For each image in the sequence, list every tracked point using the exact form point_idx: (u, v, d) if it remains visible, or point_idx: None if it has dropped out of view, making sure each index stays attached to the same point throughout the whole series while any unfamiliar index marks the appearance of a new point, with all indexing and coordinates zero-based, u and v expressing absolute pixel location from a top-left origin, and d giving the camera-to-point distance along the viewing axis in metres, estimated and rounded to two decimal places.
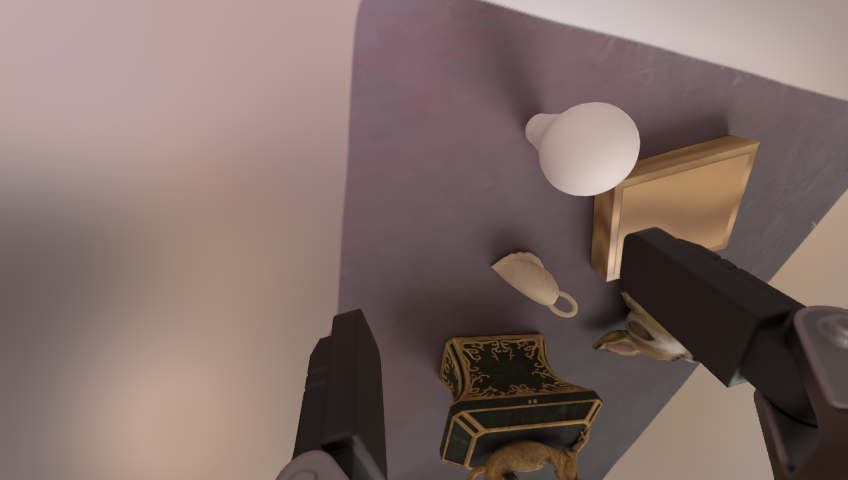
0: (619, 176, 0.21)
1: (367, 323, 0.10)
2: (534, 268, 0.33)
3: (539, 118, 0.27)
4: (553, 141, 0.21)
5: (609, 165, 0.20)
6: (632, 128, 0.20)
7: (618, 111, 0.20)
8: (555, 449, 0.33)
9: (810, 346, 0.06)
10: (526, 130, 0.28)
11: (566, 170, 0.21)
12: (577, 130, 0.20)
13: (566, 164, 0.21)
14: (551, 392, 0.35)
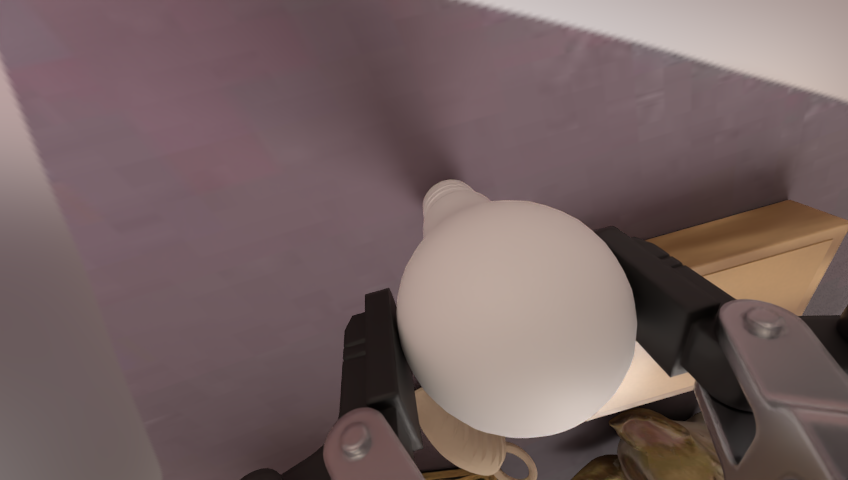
0: (577, 424, 0.07)
1: None
2: None
3: (439, 194, 0.14)
4: (405, 310, 0.08)
5: (546, 416, 0.07)
6: (614, 304, 0.07)
7: (573, 248, 0.07)
8: None
9: (737, 341, 0.06)
10: (423, 210, 0.15)
11: (435, 396, 0.08)
12: (451, 308, 0.07)
13: (432, 385, 0.07)
14: None
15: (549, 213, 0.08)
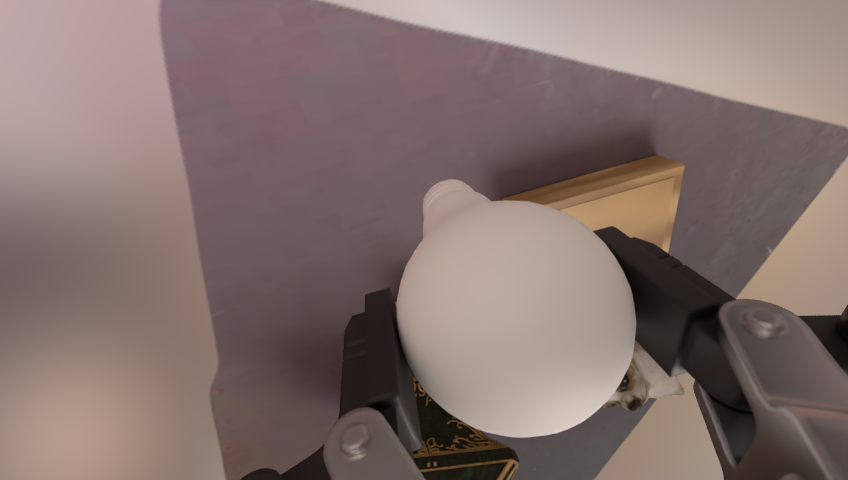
0: (577, 423, 0.07)
1: None
2: None
3: (439, 194, 0.14)
4: (405, 310, 0.08)
5: (545, 416, 0.07)
6: (613, 303, 0.07)
7: (573, 248, 0.07)
8: None
9: (737, 341, 0.06)
10: (423, 210, 0.15)
11: (435, 395, 0.08)
12: (452, 307, 0.07)
13: (432, 385, 0.07)
14: (458, 450, 0.30)
15: (548, 213, 0.08)
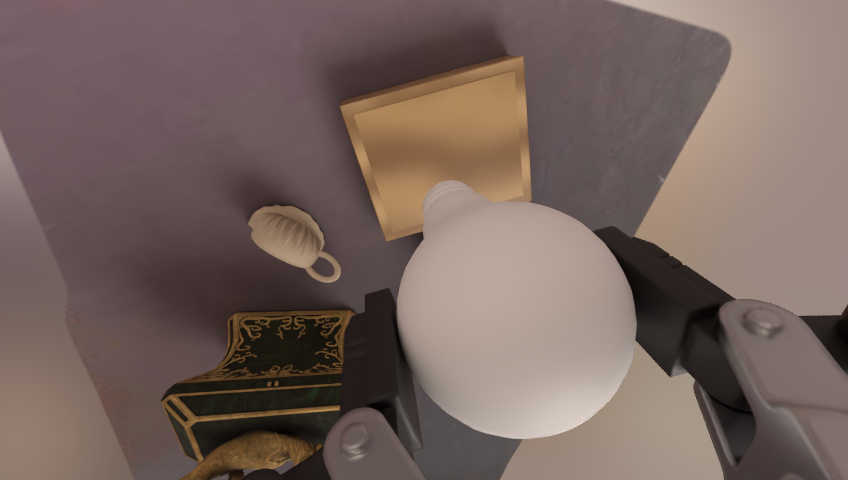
0: (577, 425, 0.07)
1: None
2: (276, 220, 0.27)
3: (439, 195, 0.14)
4: (405, 311, 0.08)
5: (545, 417, 0.07)
6: (613, 305, 0.07)
7: (573, 249, 0.07)
8: (299, 442, 0.27)
9: (736, 341, 0.06)
10: (423, 210, 0.15)
11: (435, 397, 0.08)
12: (451, 308, 0.07)
13: (432, 386, 0.07)
14: (309, 373, 0.29)
15: (549, 214, 0.08)
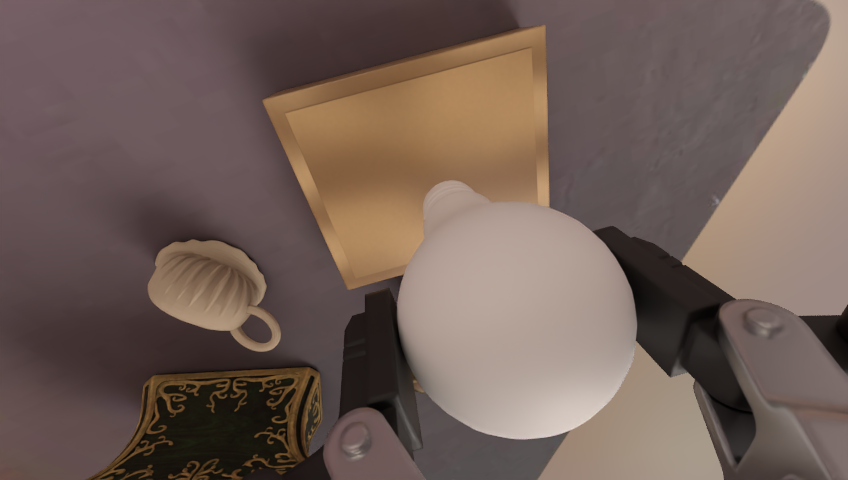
0: (578, 425, 0.07)
1: None
2: (183, 266, 0.19)
3: (439, 195, 0.14)
4: (405, 312, 0.08)
5: (546, 418, 0.07)
6: (614, 305, 0.07)
7: (573, 250, 0.07)
8: None
9: (737, 341, 0.06)
10: (423, 211, 0.15)
11: (436, 397, 0.08)
12: (452, 309, 0.07)
13: (432, 386, 0.07)
14: (236, 479, 0.20)
15: (549, 214, 0.08)
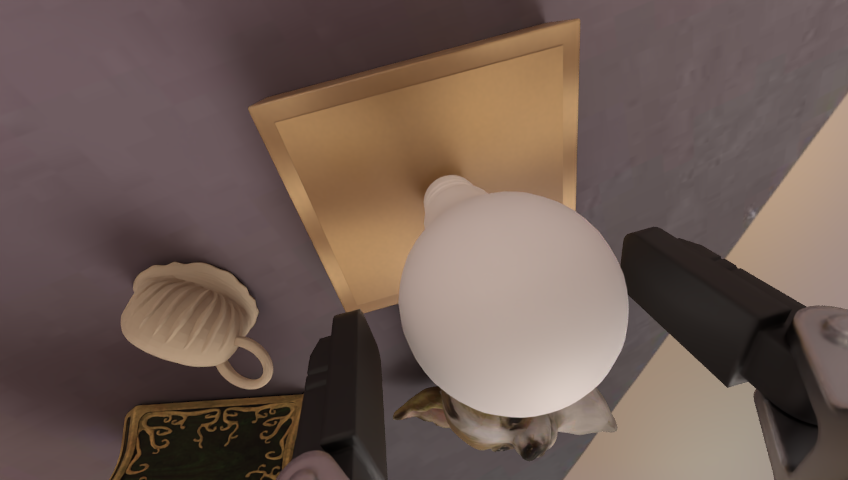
0: (571, 403, 0.08)
1: (367, 323, 0.10)
2: (161, 295, 0.17)
3: (439, 189, 0.14)
4: (407, 296, 0.08)
5: (541, 393, 0.07)
6: (605, 287, 0.07)
7: (567, 235, 0.07)
8: None
9: (810, 346, 0.06)
10: (424, 205, 0.15)
11: (436, 377, 0.08)
12: (452, 291, 0.07)
13: (433, 366, 0.08)
14: None
15: (544, 203, 0.08)
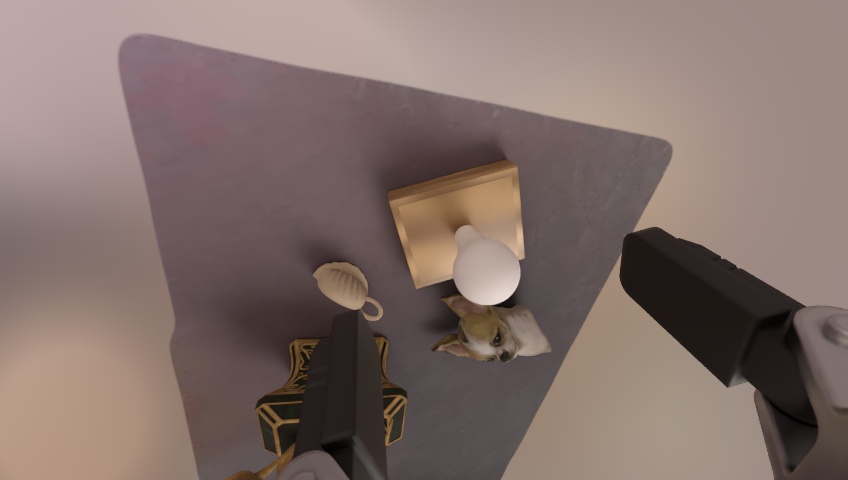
0: (502, 297, 0.28)
1: (367, 323, 0.10)
2: (337, 276, 0.38)
3: (462, 232, 0.35)
4: (457, 269, 0.29)
5: (493, 292, 0.28)
6: (509, 266, 0.28)
7: (500, 252, 0.28)
8: None
9: (810, 346, 0.06)
10: (455, 237, 0.36)
11: (466, 291, 0.29)
12: (470, 267, 0.28)
13: (465, 288, 0.29)
14: None
15: (496, 243, 0.29)
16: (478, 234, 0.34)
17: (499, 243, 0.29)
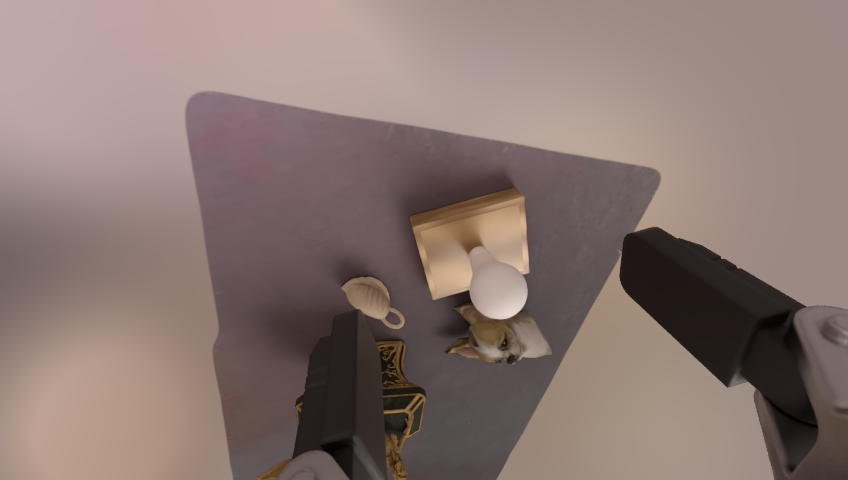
0: (512, 313, 0.34)
1: (367, 323, 0.10)
2: (365, 290, 0.43)
3: (476, 253, 0.40)
4: (474, 289, 0.34)
5: (505, 309, 0.33)
6: (518, 287, 0.33)
7: (511, 276, 0.33)
8: None
9: (810, 346, 0.06)
10: (469, 257, 0.41)
11: (481, 308, 0.34)
12: (486, 288, 0.33)
13: (481, 305, 0.34)
14: (383, 387, 0.44)
15: (507, 267, 0.34)
16: (490, 256, 0.39)
17: (509, 267, 0.34)
